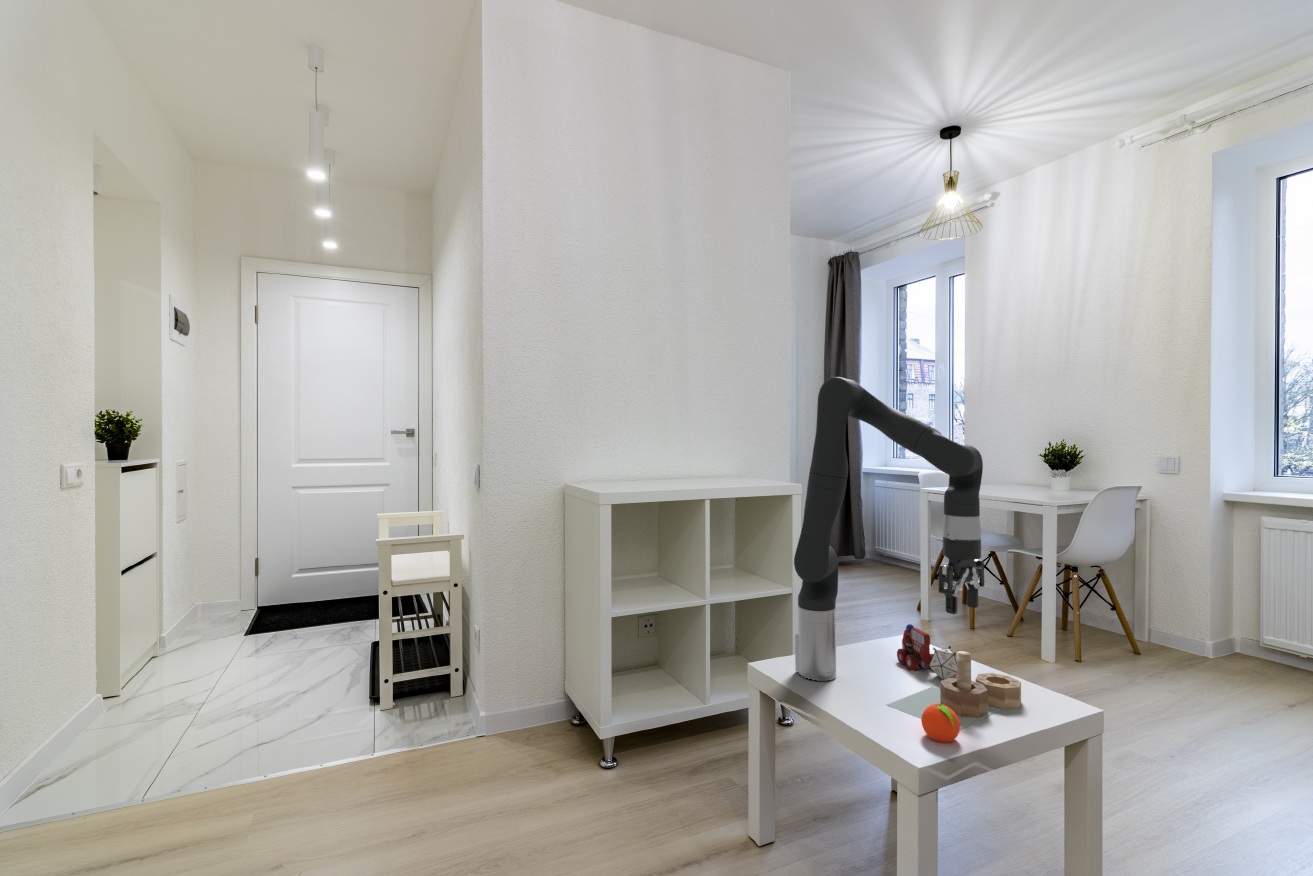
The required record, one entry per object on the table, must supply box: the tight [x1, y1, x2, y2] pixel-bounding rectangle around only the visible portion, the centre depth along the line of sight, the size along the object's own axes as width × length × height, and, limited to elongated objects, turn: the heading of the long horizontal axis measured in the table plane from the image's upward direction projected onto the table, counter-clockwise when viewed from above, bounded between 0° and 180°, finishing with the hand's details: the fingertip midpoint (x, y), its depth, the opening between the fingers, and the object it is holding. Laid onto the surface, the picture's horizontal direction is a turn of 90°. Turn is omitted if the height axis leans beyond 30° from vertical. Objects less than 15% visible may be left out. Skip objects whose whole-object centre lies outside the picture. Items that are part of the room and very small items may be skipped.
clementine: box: [920, 704, 961, 743], centre depth 121 cm, size 8×7×7 cm
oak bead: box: [975, 672, 1022, 710], centre depth 139 cm, size 9×9×5 cm
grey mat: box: [886, 686, 1001, 731], centre depth 135 cm, size 16×18×1 cm
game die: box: [925, 645, 957, 681], centre depth 153 cm, size 9×8×10 cm
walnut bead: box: [939, 678, 989, 718], centre depth 135 cm, size 9×9×5 cm
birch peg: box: [956, 650, 972, 690], centre depth 135 cm, size 3×3×12 cm
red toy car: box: [896, 623, 933, 672], centre depth 163 cm, size 7×12×10 cm, turn 4°
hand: (962, 610), depth 135 cm, fingers open, 8 cm apart
